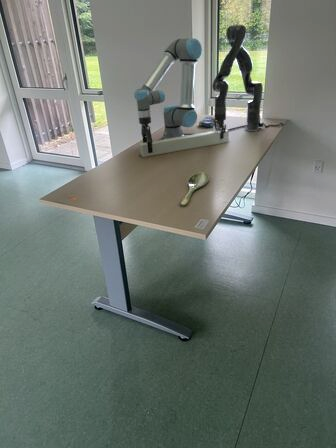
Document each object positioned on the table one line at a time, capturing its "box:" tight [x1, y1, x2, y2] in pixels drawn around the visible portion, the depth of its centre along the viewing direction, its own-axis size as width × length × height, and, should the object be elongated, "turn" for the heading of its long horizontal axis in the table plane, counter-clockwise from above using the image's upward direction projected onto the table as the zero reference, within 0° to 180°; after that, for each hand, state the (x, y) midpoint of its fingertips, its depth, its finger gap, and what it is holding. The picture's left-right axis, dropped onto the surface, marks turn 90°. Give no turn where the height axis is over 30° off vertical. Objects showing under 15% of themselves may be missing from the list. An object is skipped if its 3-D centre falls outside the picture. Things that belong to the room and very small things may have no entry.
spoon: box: [180, 171, 210, 207], centre depth 170 cm, size 35×11×2 cm, turn 159°
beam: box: [139, 129, 229, 158], centre depth 225 cm, size 61×5×8 cm, turn 107°
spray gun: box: [198, 116, 216, 128], centre depth 272 cm, size 21×4×15 cm
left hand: (148, 149), depth 220 cm, fingers open, 13 cm apart
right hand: (220, 137), depth 231 cm, fingers closed on beam, 5 cm apart
